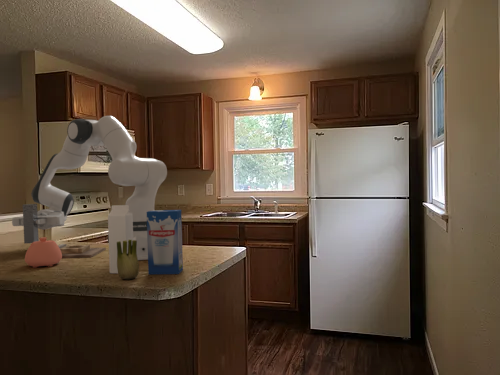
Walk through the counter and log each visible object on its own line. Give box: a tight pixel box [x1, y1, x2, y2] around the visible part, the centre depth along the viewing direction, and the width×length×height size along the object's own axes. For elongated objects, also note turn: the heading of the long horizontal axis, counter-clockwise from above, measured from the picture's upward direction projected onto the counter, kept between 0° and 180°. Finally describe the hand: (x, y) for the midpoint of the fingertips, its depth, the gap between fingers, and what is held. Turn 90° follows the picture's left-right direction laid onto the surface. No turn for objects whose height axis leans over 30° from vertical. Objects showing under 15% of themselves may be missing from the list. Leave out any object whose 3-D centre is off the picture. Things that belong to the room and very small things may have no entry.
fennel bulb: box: [117, 239, 140, 280], centre depth 130 cm, size 6×5×12 cm
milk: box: [107, 204, 133, 274], centre depth 141 cm, size 6×6×22 cm
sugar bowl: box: [24, 236, 63, 269], centre depth 156 cm, size 12×14×10 cm
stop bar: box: [22, 203, 40, 244], centre depth 178 cm, size 4×4×16 cm
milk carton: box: [147, 209, 184, 275], centre depth 138 cm, size 10×6×20 cm, turn 87°
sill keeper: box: [57, 243, 107, 259], centre depth 178 cm, size 22×18×3 cm
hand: (29, 222), depth 177 cm, fingers closed on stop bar, 4 cm apart
